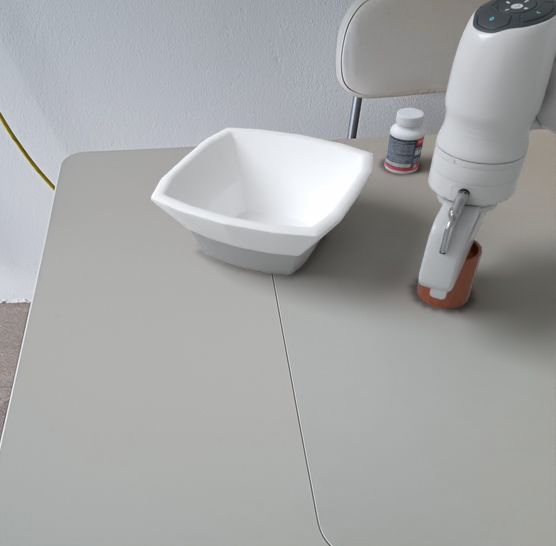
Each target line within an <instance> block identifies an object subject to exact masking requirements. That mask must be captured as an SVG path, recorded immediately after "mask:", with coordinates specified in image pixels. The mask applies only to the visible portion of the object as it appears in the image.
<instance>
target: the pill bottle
mask: <svg viewBox="0 0 556 546" xmlns="http://www.w3.org/2000/svg"><path fill="white" fill-rule="evenodd" d="M424 119H425V112H424V111H423V110H421V109H420V108H419V109H418V108H415V107H404V108H403V107H402V108H400V109H398V110H397V112H396V115H395V123H394V124H392V125H391V127H390V129H389V135H388V141H387V148H386V154H385V160H384V168H385V169H386V170H387V171H389V172H392V173H395V174H401V175H408V174H412V173H414V172H416V171H417V170H418V169H419V165H420V160H421V155H422V150H423V145H424V140H425V134H426V130H425V127H424V126H423V123H424Z"/></svg>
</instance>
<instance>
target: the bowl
mask: <svg viewBox="0 0 556 546" xmlns="http://www.w3.org/2000/svg"><path fill="white" fill-rule="evenodd" d="M374 156H375V154H374V153H372V152H370V151H368V150H364V149H361V148H357V147H354V146H351V145H348V144H344V143H341V142H337V141H332V140H328V139H323V138H320V137H319V138H318V137H314V136H311V135H310V136H309V135H305V134H300V133H292V132H285V131H277V130H276V131H275V130H270V129H269V130H268V129H263V128H246V127H225V128H224V129H222V130H220V131H218V132H217V133H214V134H213V135H211V136H209V137H207V138H205V139H204V140H202V142H200V143H199V144H198V145H197V146H196V147H195V148H194V149H193V150H191V151H190V152H189V153H188V154H187V155H185V156H184V157H183V158H182V159H181V160H180V161H179V162H178V163H177V164H175V165H174V166H173V167H172V168H171V169H170V170H169V171H168V172H167V173H166V174H165V175H163V177H162V178H160V180H159V182H158V184H157V185H156V187H155V189H154V190H153V192H152V194H151V196H150V199H151V202H153V203H154V204H155V205H156V206H158V207H159V208H160V209H162V210H163V211H164V212H166V213H167V214H168V215H169V216H171V217H172V218H173V219H175V220H176V221H177V222H178V223H180V225H182V226H183V227H185V228H186V229H187V230H189V231H190V232H191V234H192V236H193V237H194V239H195V241H196V242H197V243H198V246H200V248H201V250H202V252H203V253H204V254H205V255H207V256H209V257H212V258H214V259H216V260H217V261H220V262H223V263H226V264H230V265H232V266H235V267H239V268H242V269H245V270H250V271H256V272H262V273H266V274H273V275H274V274H275V275H284V276H291V275H292V274H294V273H295V272H296V271H298V270H299V269H301V267H303V266H304V265H305V263H306V262H307V260H308V259H309V257H310V256H312V255H311V254H312V253H313V252H314V250H315V249H316V247H317V246H318V244H319V243H320V241H321V240H322V238H323V237H324V236H326V235H327V234H328V233H330V231H331V230H333V229H334V228H335V227H336V226H337V225H339V224H340V223H341V222H342V220H343V219H344V218H345V216H346V215H347V213H348V212H349V211H350V209H351V208H352V206H353V204H354V203H355V202H356V201H357V199H358V197H359V196H360V194H361V192H362V191H363V189H364V188H365V186H366V185H367V183H368V181H369V179H370V178H371V176H372V175H373V172H374V171H373V170H374Z"/></svg>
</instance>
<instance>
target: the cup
mask: <svg viewBox="0 0 556 546" xmlns="http://www.w3.org/2000/svg"><path fill="white" fill-rule="evenodd" d="M482 247H483V246H482V245H481V244H480V243H479V242H478V240H476V239H474V242H473V244H472V246H471V248H470V251H469V253H468V255H467V257H466V260H465V262H464V264H463V267H462V269H461V271H460V273H459V276H458V278H457V280H456V283H455V285H454V287H453V289H452V290H451V291H449V292H448V293H447V295H446V298H445V299H438V298H434V297H432V296H430V290H431V288H428V287H425V286H422V285H420V283H419V280H418V281H417V288H416V293H417V295H418V298H420V300H422V301H423V302H424V303H425V304H428V305H430V306H432V307H434V308H439V309H449V310H450V309H451V310H452V309H456V308H460V307H462V306H464V305H465V304H466V303H467V302H468V300H469V298H470V296H471V292H472V289H473V285H474V282H475V278H476V275H477V271H478V268H479V266H480V263H481V262H480V261H481V259H482V254H483V248H482Z"/></svg>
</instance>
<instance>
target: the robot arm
mask: <svg viewBox="0 0 556 546" xmlns="http://www.w3.org/2000/svg"><path fill="white" fill-rule="evenodd" d="M457 45H458V46H457V49H456V52H455V55H454V59H453V62H452V66H451V69H450V74H449V78H448V81H447V87H446V92H445V98H444V105H445V116H444V120H443V123H442V124H441V125H442V126H441V127H440V129H439V131H438V133H437V136H436V140H435V143H434V149H433V154H432V159H431V163H430V168H429V173H428V178H427V183H428V186H429V188H430V189H431V190H432V191H433V193H435V194H436V199H437V200H438V202H439V203H440V204H441V207H440V209H439V211H438V213H437V215H436V216H435V219H434V221H433V223H432V226H431V229H430V232H429V234H428V238H427V242H426V245H425V248H424V252H423V257H422V261H421V265H420V268H419V273H418V281H419V283H420V285H422V286H425V287H428V288H431V290H430V296H432V297H434V298H438V299H445V298H446V295H447V293H448V292H449V291H451V290H452V289H453V287H454V285H455V283H456V280H457V278H458V276H459V273H460V271H461V269H462V267H463V264H464V262H465V260H466V257H467V255H468V253H469V251H470V248H471V246H472V244H473V242H474V240H476V237H477V235H478V232H479V230H480V228H481V225H482V223H483V222H484V221H483V220H484V219H485V217H486V214H487V212H492V210H494V209H495V208H497V206H498V204H501V203H504V202H506V201H508V200H509V199H510V198H512V197H513V195H514V194H515V192H516V189H517V185H518V183H519V179H520V177H521V173H522V169H523V166H524V163H525V161H526V157H527V155H528V150H529V146H530V132H531V131H532V130H533V129H538V128H541V127H542V128H543V129H545V130H547V131H549V132H551V133H554V134H556V0H489V1H486V2H485V3H483V4H481V5H480V6H479V7H477V8H476V9H475V10H474V12H473V13H472V15H471V17H470V18H469V20H468V21H467V24H466V26H465V28H464V30H463V32H462V35H461V37H460V40H459V43H458V44H457Z"/></svg>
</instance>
